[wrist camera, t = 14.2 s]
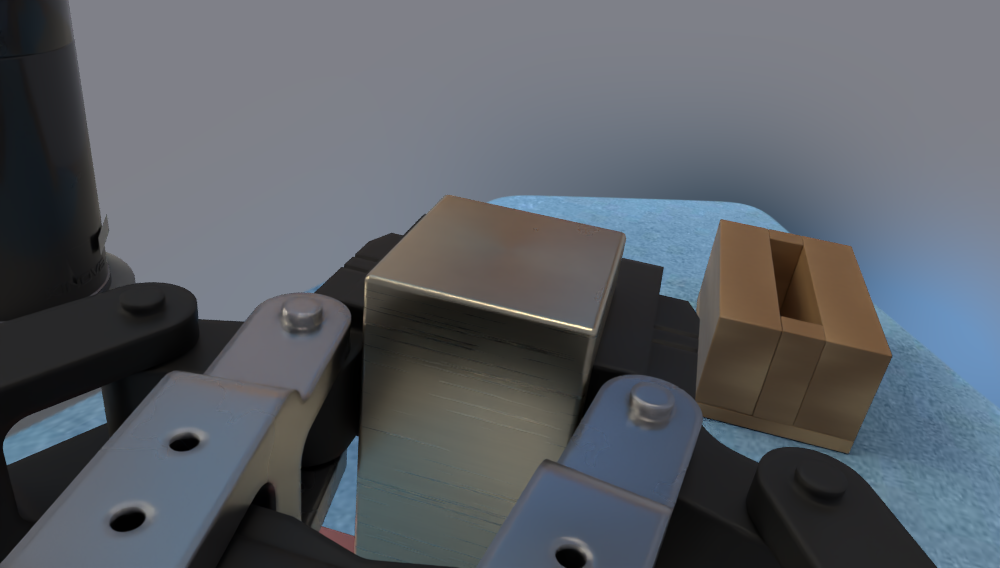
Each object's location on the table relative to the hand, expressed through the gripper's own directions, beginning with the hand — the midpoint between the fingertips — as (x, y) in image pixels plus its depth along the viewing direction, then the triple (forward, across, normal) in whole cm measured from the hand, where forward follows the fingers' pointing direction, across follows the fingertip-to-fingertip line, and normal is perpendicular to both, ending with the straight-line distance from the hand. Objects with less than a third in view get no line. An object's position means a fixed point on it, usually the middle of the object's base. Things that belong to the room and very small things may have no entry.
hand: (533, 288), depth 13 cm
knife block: (+28, -10, +17) cm, 34 cm away
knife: (-3, 0, +12) cm, 12 cm away
